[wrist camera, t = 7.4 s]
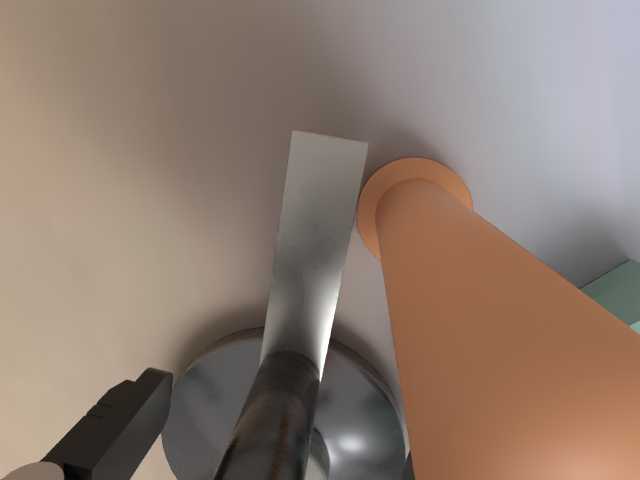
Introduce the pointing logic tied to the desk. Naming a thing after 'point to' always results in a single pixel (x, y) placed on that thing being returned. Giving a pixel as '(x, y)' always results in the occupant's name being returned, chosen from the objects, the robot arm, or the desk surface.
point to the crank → (299, 314)
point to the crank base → (329, 423)
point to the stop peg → (495, 343)
